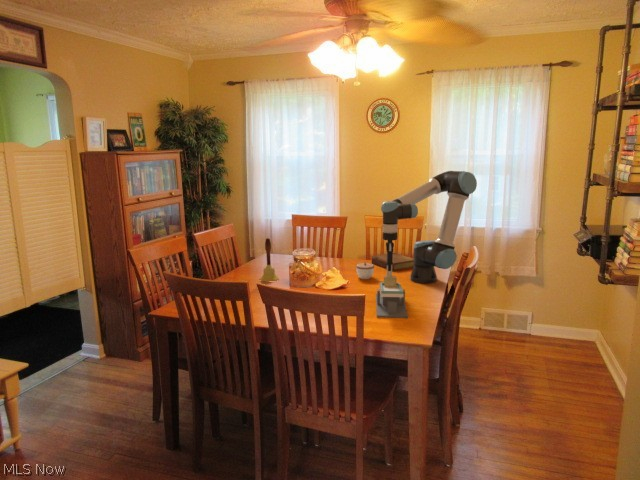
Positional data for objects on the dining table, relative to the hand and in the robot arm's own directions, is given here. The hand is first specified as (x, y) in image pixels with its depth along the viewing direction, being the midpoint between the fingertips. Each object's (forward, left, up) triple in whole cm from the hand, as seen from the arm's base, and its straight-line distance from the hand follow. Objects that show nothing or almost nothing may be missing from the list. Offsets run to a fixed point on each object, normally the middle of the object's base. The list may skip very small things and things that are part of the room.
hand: (389, 276), depth 238 cm
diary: (-6, -63, -11) cm, 64 cm away
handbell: (+70, -27, -11) cm, 76 cm away
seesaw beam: (0, +16, -3) cm, 17 cm away
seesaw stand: (0, +16, -10) cm, 19 cm away
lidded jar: (+13, -33, -11) cm, 37 cm away
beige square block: (0, +7, -3) cm, 8 cm away
